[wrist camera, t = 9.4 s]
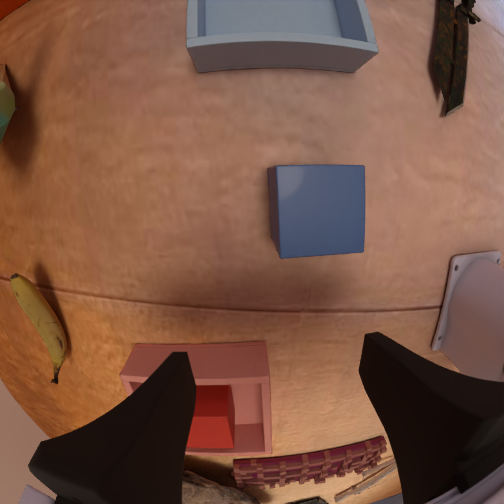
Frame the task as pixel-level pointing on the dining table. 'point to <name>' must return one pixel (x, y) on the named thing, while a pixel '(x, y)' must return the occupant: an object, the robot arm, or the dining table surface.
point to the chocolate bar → (309, 465)
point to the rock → (211, 492)
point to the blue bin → (279, 34)
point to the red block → (213, 418)
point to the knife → (461, 50)
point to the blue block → (317, 209)
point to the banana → (42, 320)
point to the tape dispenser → (9, 6)
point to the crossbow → (372, 481)
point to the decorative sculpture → (5, 101)
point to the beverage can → (315, 501)
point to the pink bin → (219, 373)
